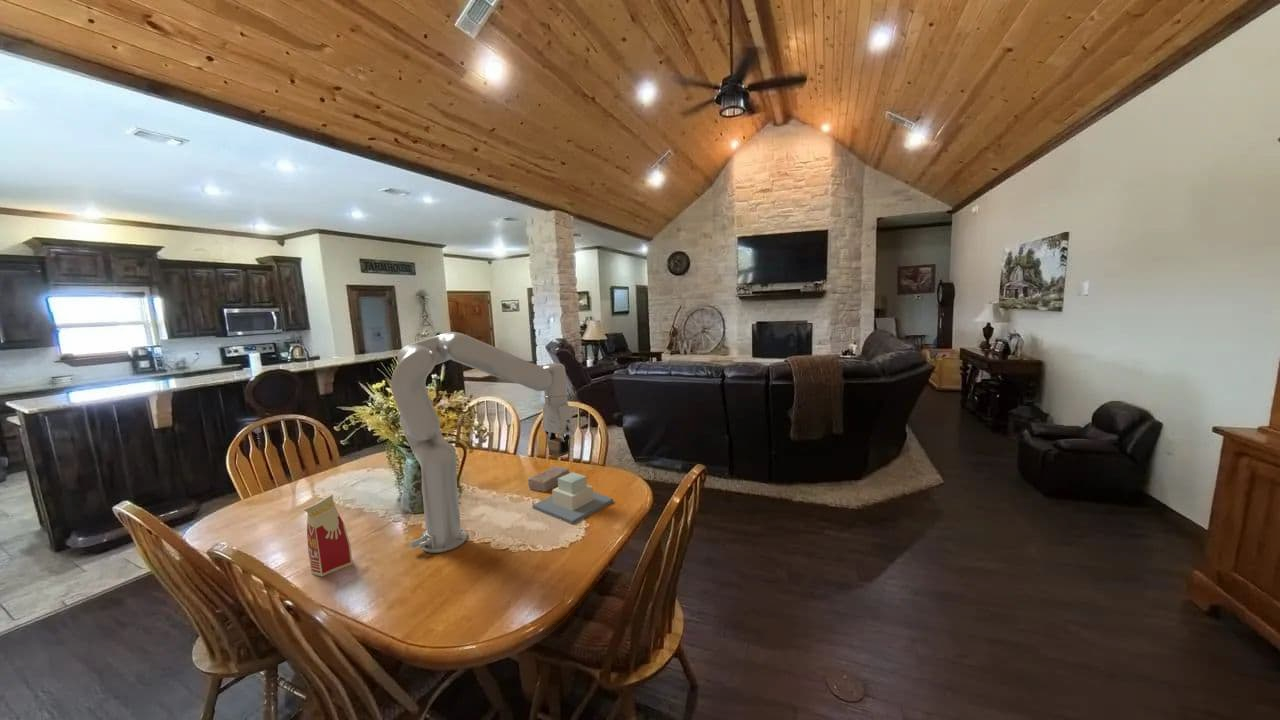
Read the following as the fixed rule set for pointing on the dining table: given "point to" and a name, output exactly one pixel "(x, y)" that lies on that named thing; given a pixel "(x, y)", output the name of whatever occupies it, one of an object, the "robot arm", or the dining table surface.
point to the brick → (547, 479)
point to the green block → (572, 482)
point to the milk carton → (327, 538)
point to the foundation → (572, 504)
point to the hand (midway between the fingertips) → (559, 449)
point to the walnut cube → (556, 447)
